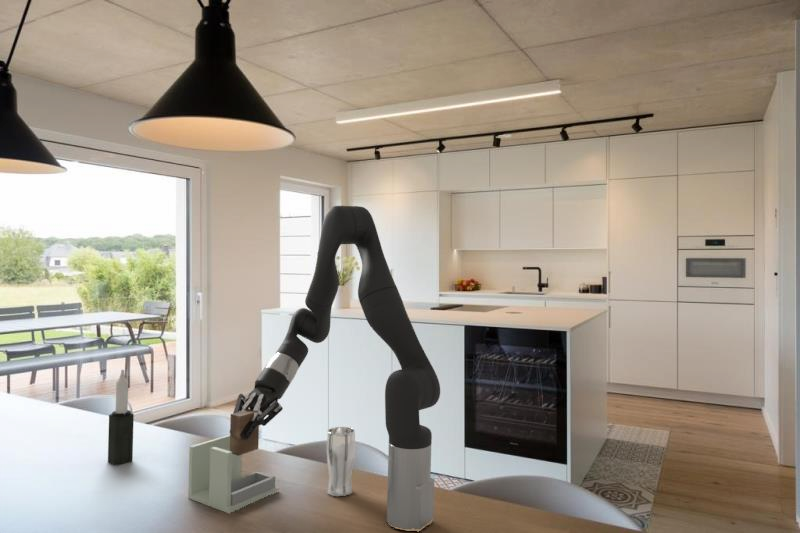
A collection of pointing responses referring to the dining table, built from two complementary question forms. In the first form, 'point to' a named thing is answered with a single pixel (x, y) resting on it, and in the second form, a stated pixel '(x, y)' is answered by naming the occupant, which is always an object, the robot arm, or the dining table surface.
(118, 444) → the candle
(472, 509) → the dining table surface
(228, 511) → the sage green display stand
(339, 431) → the beer glass
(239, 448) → the brown wooden block
